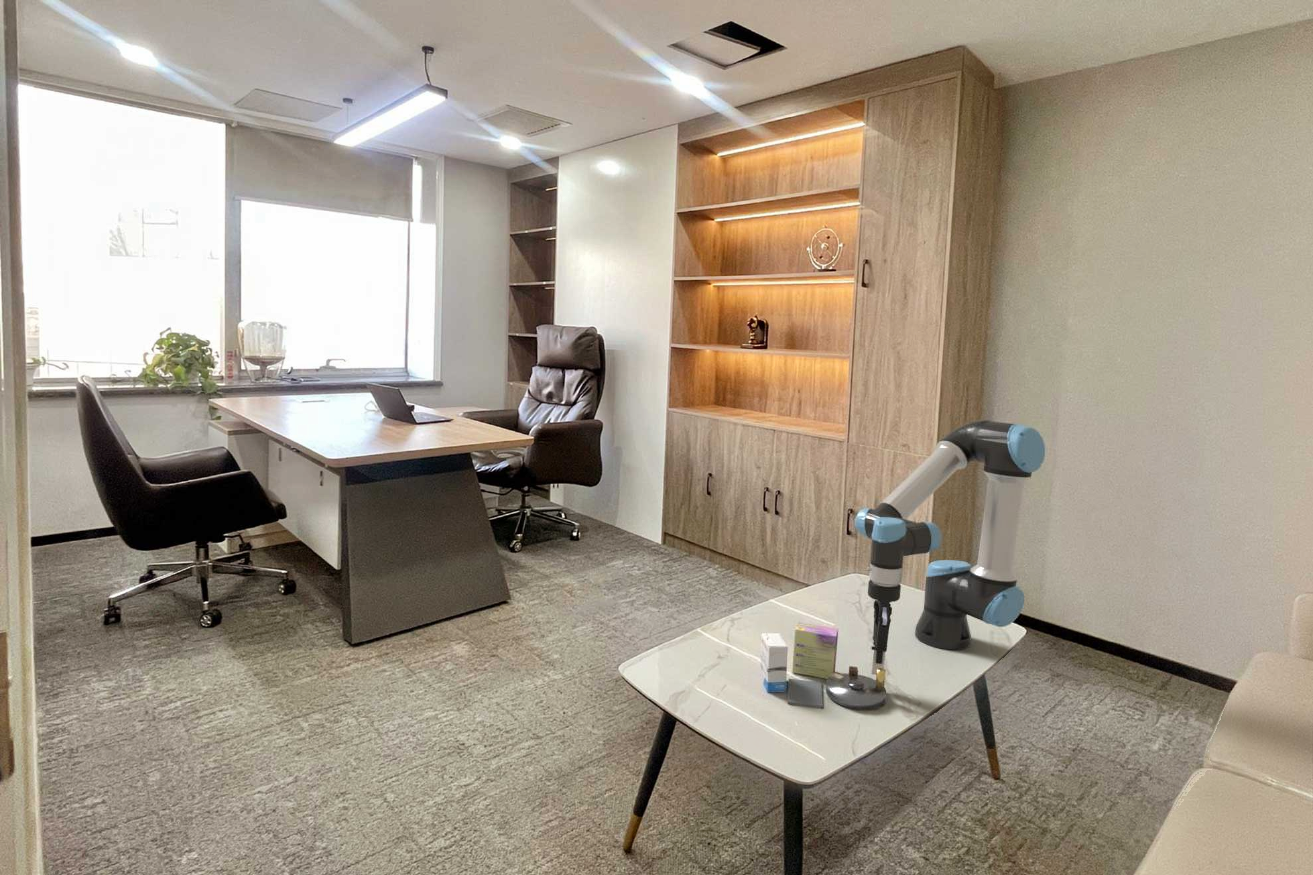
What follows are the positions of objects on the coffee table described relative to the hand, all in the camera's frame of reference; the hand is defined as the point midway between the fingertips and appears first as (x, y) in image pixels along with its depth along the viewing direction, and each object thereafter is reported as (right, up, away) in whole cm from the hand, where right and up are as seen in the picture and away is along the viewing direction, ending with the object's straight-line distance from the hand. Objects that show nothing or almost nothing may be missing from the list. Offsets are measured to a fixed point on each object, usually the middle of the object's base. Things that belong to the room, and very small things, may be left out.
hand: (877, 673), depth 182 cm
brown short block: (-5, -3, +5) cm, 7 cm away
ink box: (-26, -3, +1) cm, 26 cm away
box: (-14, -3, +9) cm, 16 cm away
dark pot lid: (-6, -4, -4) cm, 9 cm away
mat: (-19, -4, -3) cm, 19 cm away
